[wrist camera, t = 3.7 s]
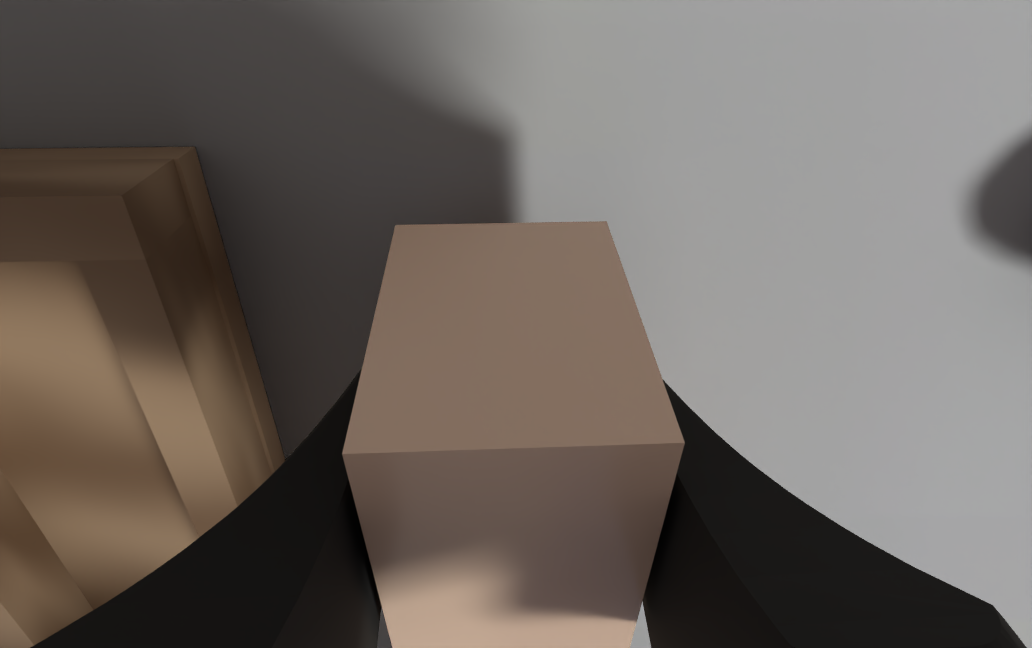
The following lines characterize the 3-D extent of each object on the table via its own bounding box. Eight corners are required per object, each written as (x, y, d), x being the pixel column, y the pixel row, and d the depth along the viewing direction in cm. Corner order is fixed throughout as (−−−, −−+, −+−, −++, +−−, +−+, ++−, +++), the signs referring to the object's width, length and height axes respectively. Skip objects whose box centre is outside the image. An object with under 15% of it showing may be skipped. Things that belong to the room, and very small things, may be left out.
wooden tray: (334, 631, 22) (317, 713, 20) (102, 642, 22) (56, 727, 19) (195, 146, 12) (128, 195, 10) (-231, 151, 12) (-404, 203, 10)
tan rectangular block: (566, 580, 19) (591, 788, 15) (442, 586, 19) (431, 797, 15) (606, 221, 11) (684, 442, 7) (395, 225, 11) (342, 454, 7)
